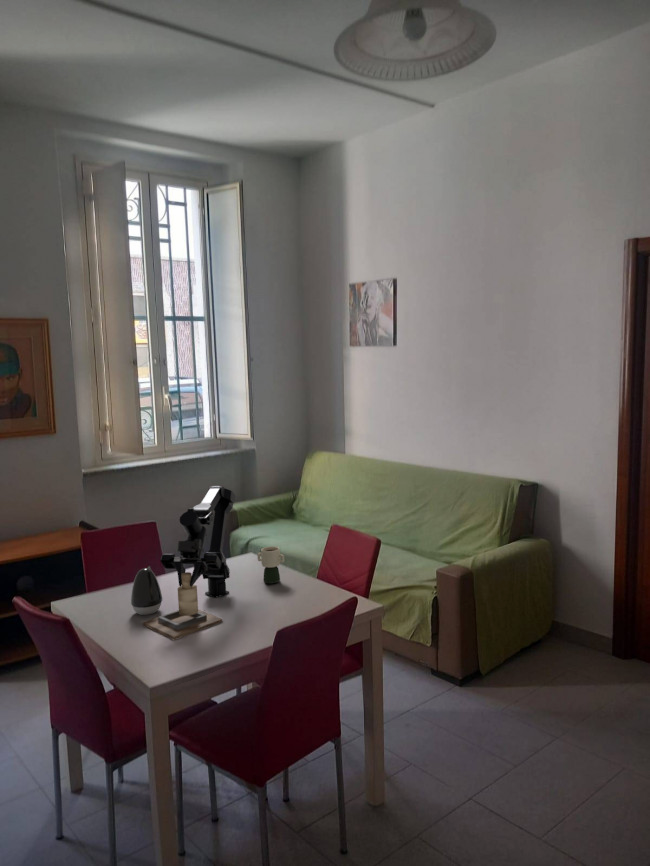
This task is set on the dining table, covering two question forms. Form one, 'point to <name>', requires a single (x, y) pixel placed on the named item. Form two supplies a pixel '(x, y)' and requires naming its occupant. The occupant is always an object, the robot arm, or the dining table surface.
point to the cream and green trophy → (271, 563)
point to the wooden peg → (187, 596)
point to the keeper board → (181, 623)
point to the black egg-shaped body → (146, 592)
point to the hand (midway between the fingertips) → (185, 585)
